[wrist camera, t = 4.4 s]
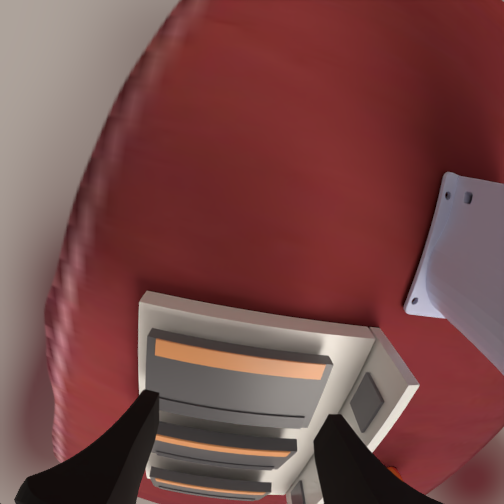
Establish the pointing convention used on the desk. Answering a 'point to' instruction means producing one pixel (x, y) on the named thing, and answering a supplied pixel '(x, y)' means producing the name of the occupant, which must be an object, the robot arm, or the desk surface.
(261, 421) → the switch
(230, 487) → the switch
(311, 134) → the desk surface
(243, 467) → the switch
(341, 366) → the switch unit
